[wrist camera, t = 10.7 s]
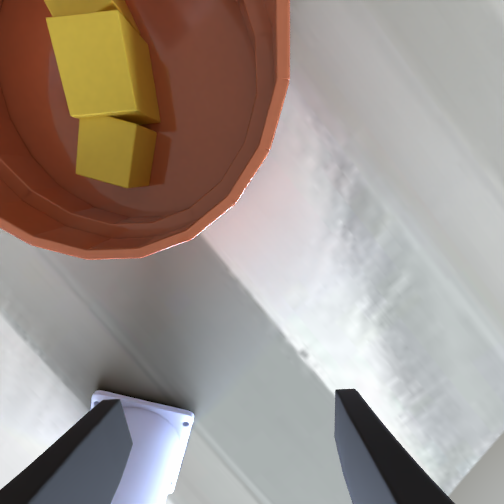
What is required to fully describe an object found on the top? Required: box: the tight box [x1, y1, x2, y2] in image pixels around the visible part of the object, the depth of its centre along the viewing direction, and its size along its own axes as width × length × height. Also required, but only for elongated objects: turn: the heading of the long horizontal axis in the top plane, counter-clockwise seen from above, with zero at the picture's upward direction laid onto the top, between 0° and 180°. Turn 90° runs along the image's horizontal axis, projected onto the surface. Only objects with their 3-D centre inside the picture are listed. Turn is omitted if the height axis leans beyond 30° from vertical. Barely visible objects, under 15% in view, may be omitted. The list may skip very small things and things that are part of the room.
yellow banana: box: [44, 0, 161, 188], centre depth 12 cm, size 10×4×3 cm, turn 4°
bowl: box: [0, 0, 290, 260], centre depth 12 cm, size 16×16×5 cm
